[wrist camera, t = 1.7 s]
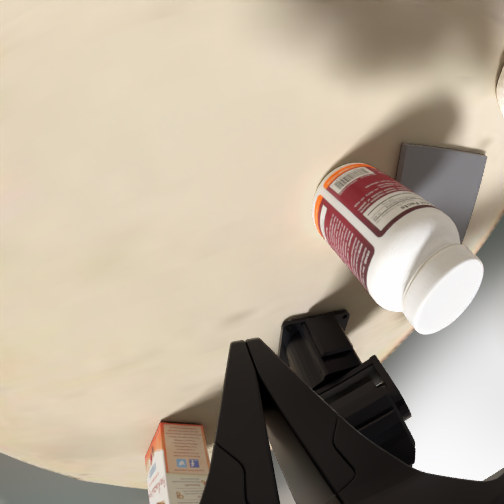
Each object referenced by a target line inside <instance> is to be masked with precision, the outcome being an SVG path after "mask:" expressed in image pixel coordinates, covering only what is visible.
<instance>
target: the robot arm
mask: <svg viewBox="0 0 504 504" xmlns="http://www.w3.org/2000/svg"><path fill="white" fill-rule="evenodd" d="M349 315H350V314H349V313H348V311H347V310H341V311H337V312H332V313H327V314H322V315H317V316H312V317H307V318H302V319H297V320H292V321H287V322H285V323H283V324H282V326H281V334H280V342H279V350H278V356H277V355H276V354H275V353H274V352H273V351H272V350H271V349H270V348H269V347H268V346H267V345H266V344H265V343H264V342H263V341H262V340H261V339H260V338H252V339H247V340H246V341H244V340H240V341H233V342H231V344H230V349H229V355H228V361H227V367H226V373H225V379H224V385H223V391H222V397H221V403H220V409H219V416H218V422H217V428H216V434H215V440H214V446H213V452H212V458H211V463H210V468H209V473H208V476H207V480H206V483H205V487H204V490H203V493H202V496H201V499H200V502H199V504H280V501H279V495H278V490H277V484H276V479H275V473H274V467H273V462H272V456H271V451H270V445H269V441H270V444H271V446H272V449H273V451H274V453H275V456H276V458H277V461H278V463H279V465H280V468H281V470H282V472H283V475H284V477H285V479H286V482H287V484H288V486H289V489H290V491H291V493H292V496H293V498H294V500H295V502H296V504H504V468H503V469H501V470H500V471H498V472H497V473H495V474H493V475H492V476H490V477H488V478H487V479H485V480H484V481H474V480H466V479H458V478H452V477H446V476H440V475H434V474H429V473H425V472H421V471H419V470H416V469H414V468H412V464H414V462H415V441H414V439H413V437H412V435H411V433H410V431H409V429H408V428H407V426H406V424H405V422H404V421H405V420H407V419H408V418H410V417H411V413H410V411H409V409H408V407H407V405H406V403H405V401H404V399H403V397H402V396H401V394H400V392H399V390H398V389H397V387H396V386H395V384H394V383H393V381H392V380H391V378H390V376H389V375H388V373H387V372H386V371H385V369H384V368H383V366H382V364H381V363H380V361H379V360H378V359H377V357H376V356H375V355H373V356H371V357H370V358H369V360H367V361H365V362H364V363H362V362H361V361H360V359H359V357H358V355H357V354H356V352H355V350H354V349H353V345H352V344H351V342H350V340H349V339H348V337H347V335H346V334H345V332H344V331H345V328H346V325H347V322H348V319H349ZM289 367H290V368H291V369H290V368H289ZM379 383H381V384H380V385H378V386H377V387H376V385H377V384H379Z"/></svg>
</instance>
